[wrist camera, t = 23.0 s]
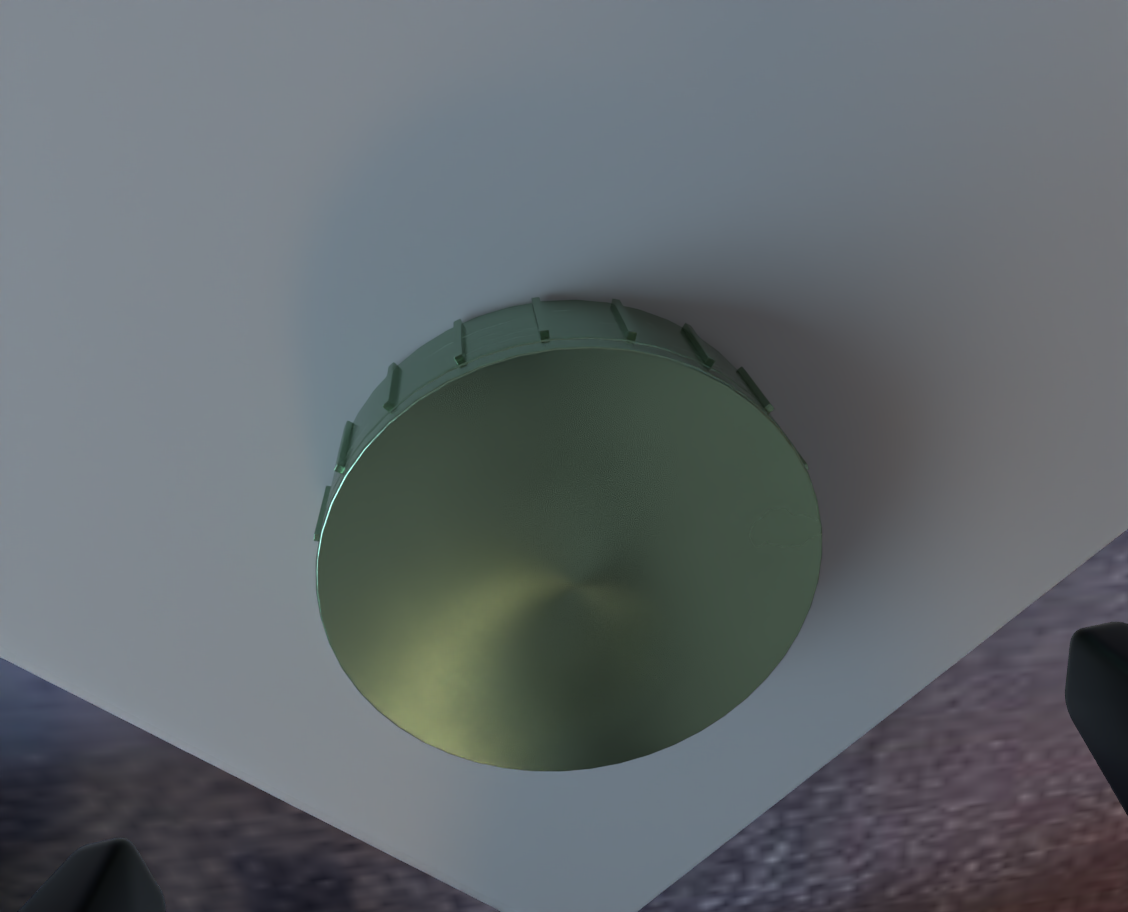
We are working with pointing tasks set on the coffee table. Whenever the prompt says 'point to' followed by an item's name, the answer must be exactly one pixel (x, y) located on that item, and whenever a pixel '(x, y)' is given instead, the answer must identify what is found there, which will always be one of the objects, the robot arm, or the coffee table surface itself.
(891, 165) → the book
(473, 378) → the jar lid
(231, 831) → the coffee table surface
